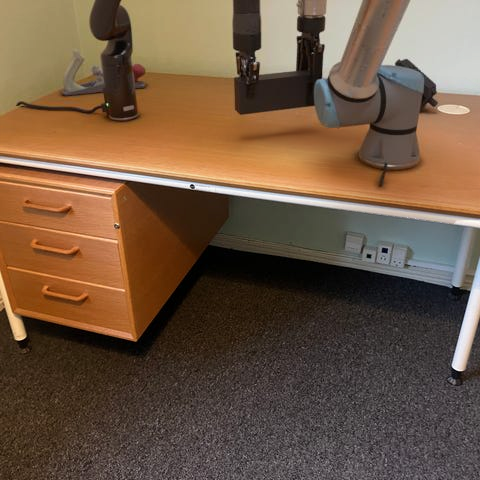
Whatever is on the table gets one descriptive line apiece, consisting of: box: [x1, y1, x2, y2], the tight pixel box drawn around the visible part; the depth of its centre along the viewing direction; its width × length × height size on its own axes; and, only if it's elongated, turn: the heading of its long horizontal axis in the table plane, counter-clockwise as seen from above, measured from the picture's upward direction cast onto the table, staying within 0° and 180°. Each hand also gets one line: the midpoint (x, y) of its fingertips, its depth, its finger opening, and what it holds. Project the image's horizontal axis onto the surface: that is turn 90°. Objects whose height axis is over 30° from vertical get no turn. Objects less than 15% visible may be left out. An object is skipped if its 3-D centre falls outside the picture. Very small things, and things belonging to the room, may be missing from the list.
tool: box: [394, 58, 439, 110], centre depth 172 cm, size 6×19×15 cm, turn 51°
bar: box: [233, 70, 324, 116], centre depth 149 cm, size 24×5×9 cm, turn 107°
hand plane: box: [61, 48, 146, 96], centre depth 194 cm, size 7×31×15 cm, turn 107°
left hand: (247, 94), depth 147 cm, fingers closed on bar, 5 cm apart
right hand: (307, 101), depth 153 cm, fingers closed on bar, 5 cm apart
